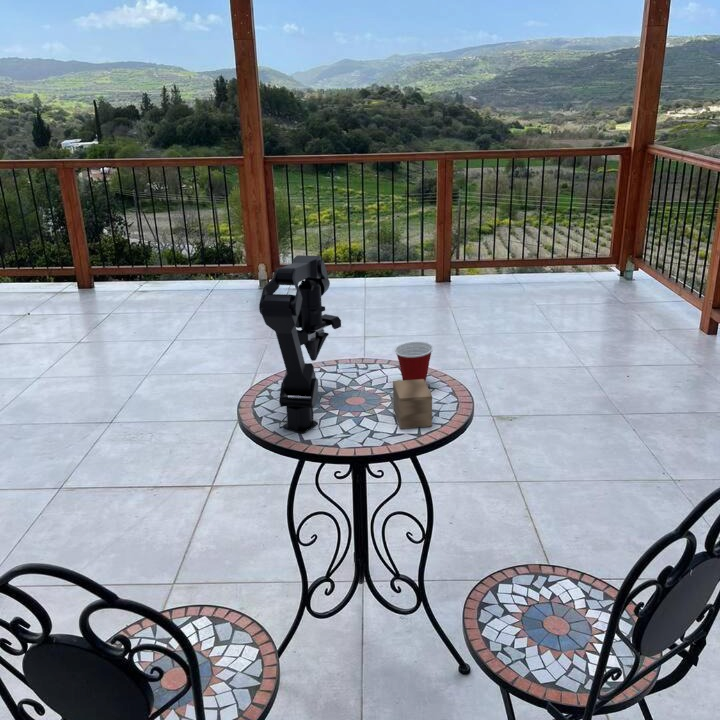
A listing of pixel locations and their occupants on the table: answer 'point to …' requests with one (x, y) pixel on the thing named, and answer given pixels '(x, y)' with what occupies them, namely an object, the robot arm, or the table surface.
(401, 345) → the plastic cup
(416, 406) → the brown box
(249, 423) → the table surface
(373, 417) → the table surface
